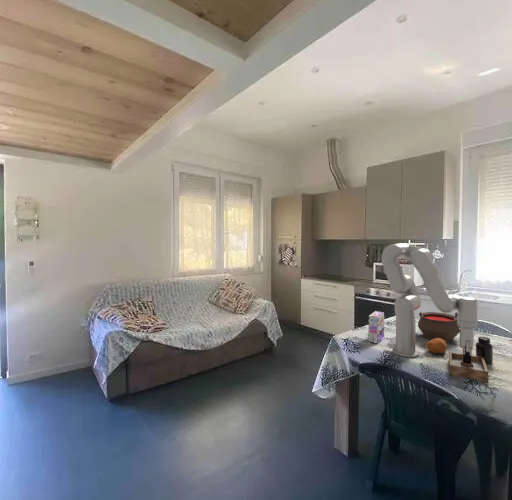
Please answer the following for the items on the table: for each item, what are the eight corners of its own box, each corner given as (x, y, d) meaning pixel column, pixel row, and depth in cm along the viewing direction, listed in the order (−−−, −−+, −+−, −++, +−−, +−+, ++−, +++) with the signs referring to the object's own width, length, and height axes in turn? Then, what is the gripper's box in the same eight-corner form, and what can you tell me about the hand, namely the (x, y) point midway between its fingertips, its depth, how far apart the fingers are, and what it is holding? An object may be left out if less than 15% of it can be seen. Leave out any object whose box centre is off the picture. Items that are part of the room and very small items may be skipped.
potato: (452, 354, 162) (452, 340, 162) (435, 357, 159) (435, 343, 159) (437, 348, 171) (437, 335, 171) (421, 350, 168) (421, 337, 167)
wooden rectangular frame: (450, 374, 139) (450, 365, 139) (449, 360, 154) (449, 351, 154) (488, 381, 132) (488, 371, 131) (483, 366, 147) (483, 357, 147)
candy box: (378, 344, 179) (378, 316, 178) (368, 342, 182) (368, 315, 181) (384, 337, 190) (384, 311, 189) (374, 336, 193) (374, 310, 192)
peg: (462, 366, 144) (462, 343, 143) (462, 363, 147) (462, 341, 146) (471, 368, 142) (472, 345, 142) (471, 365, 145) (471, 342, 145)
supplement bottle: (485, 358, 156) (485, 335, 155) (496, 364, 149) (496, 340, 148) (472, 358, 156) (472, 336, 155) (482, 364, 149) (483, 340, 148)
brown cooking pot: (448, 332, 198) (448, 307, 197) (470, 345, 174) (470, 317, 174) (409, 331, 201) (410, 307, 200) (426, 344, 177) (426, 317, 176)
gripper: (456, 318, 153) (456, 354, 153) (458, 327, 138) (458, 366, 139) (475, 320, 149) (474, 356, 150) (478, 329, 135) (478, 369, 135)
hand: (466, 361), depth 144 cm, fingers closed on peg, 3 cm apart
